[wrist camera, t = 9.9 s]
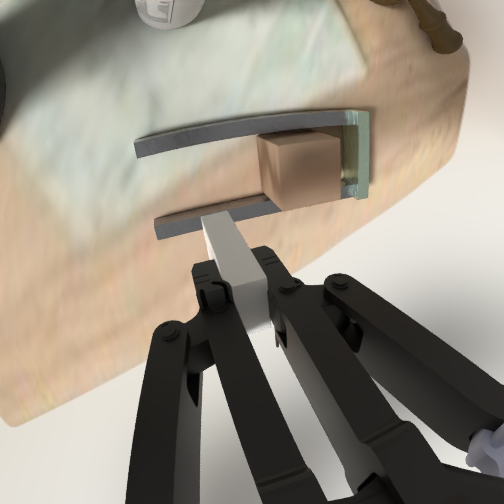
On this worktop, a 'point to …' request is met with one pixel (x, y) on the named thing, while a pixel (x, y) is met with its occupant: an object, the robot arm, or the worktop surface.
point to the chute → (261, 205)
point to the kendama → (433, 25)
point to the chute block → (300, 168)
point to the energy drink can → (168, 12)
